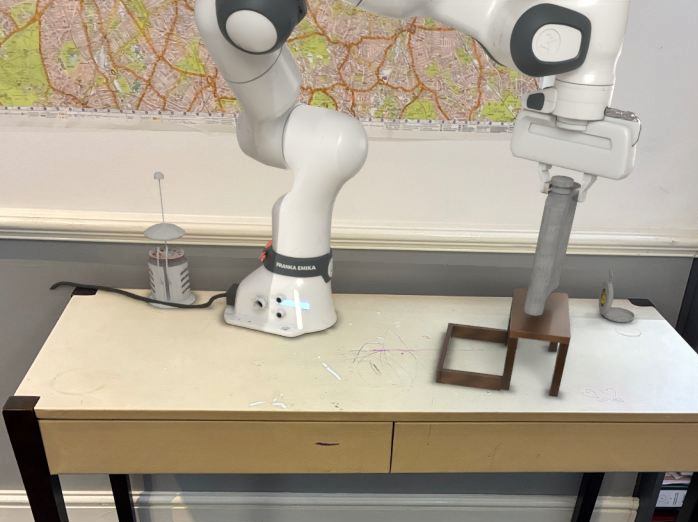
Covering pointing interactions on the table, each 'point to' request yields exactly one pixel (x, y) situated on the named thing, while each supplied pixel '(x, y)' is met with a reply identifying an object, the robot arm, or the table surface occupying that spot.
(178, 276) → the french press
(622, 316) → the pocket watch
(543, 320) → the shelf stand
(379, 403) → the table surface
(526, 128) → the robot arm
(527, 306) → the hip flask
